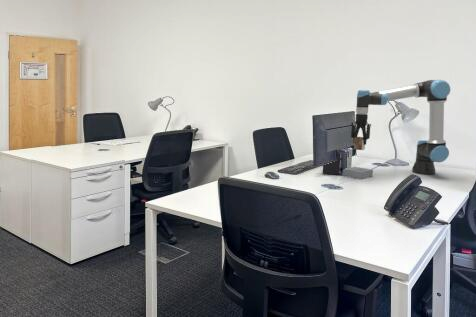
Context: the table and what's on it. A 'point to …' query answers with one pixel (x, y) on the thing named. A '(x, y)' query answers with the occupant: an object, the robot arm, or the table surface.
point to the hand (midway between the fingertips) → (359, 148)
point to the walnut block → (358, 143)
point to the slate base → (357, 172)
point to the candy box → (349, 157)
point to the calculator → (333, 166)
